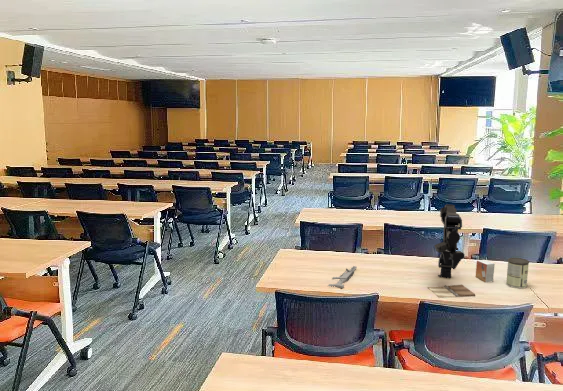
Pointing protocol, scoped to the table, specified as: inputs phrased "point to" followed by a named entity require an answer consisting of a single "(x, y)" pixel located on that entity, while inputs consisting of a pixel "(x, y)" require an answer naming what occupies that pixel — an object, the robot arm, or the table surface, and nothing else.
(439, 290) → the base leaf
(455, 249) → the robot arm
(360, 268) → the table surface
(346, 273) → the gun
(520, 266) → the coffee can
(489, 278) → the small box
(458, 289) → the leaf
